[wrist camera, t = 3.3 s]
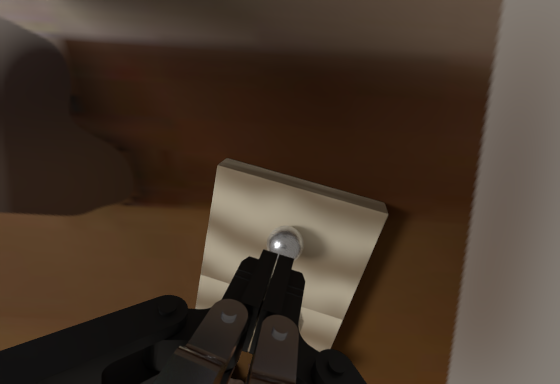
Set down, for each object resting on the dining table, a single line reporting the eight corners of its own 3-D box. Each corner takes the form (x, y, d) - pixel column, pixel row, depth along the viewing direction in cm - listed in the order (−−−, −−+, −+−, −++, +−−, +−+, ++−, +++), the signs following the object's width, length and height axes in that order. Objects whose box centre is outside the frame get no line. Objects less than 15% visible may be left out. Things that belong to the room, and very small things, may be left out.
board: (226, 157, 30) (217, 165, 28) (384, 202, 29) (388, 214, 26) (200, 316, 39) (191, 332, 36) (320, 356, 38) (319, 374, 35)
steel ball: (275, 215, 29) (267, 232, 25) (309, 225, 28) (306, 244, 25) (267, 244, 30) (259, 264, 27) (300, 254, 30) (296, 275, 27)
